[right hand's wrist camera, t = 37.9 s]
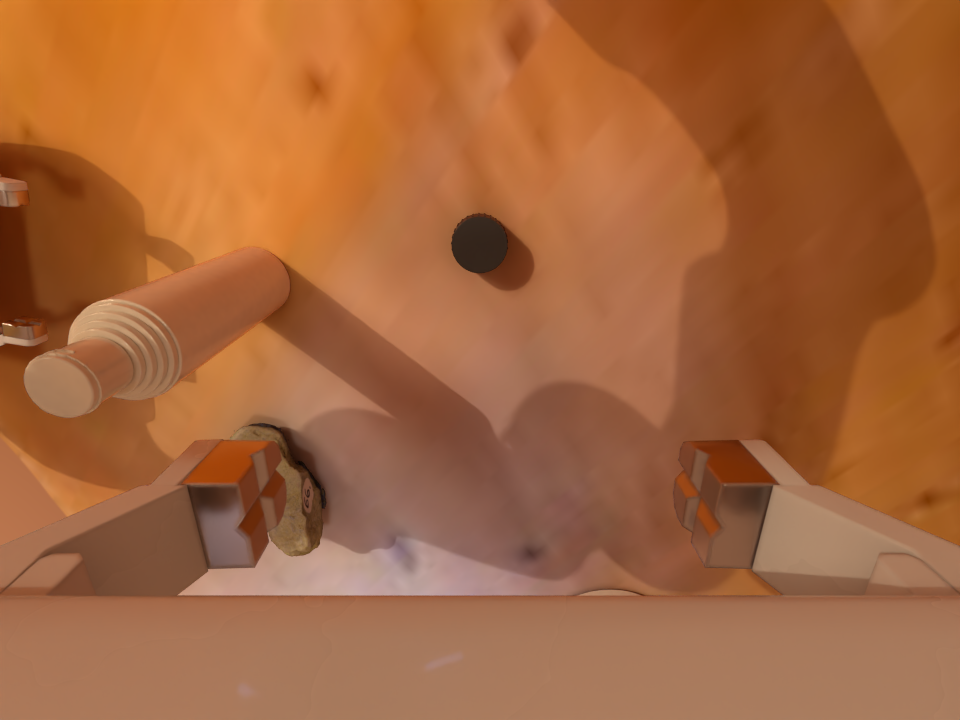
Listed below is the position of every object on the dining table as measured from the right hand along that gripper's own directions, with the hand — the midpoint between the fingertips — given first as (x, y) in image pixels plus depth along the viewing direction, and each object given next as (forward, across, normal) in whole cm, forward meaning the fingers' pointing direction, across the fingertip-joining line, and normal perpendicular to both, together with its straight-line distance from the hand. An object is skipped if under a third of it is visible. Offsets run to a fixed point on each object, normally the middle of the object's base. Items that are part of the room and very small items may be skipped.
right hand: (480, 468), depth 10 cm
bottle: (+31, +18, +3) cm, 36 cm away
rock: (+31, +18, +21) cm, 41 cm away
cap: (+29, 0, 0) cm, 29 cm away
